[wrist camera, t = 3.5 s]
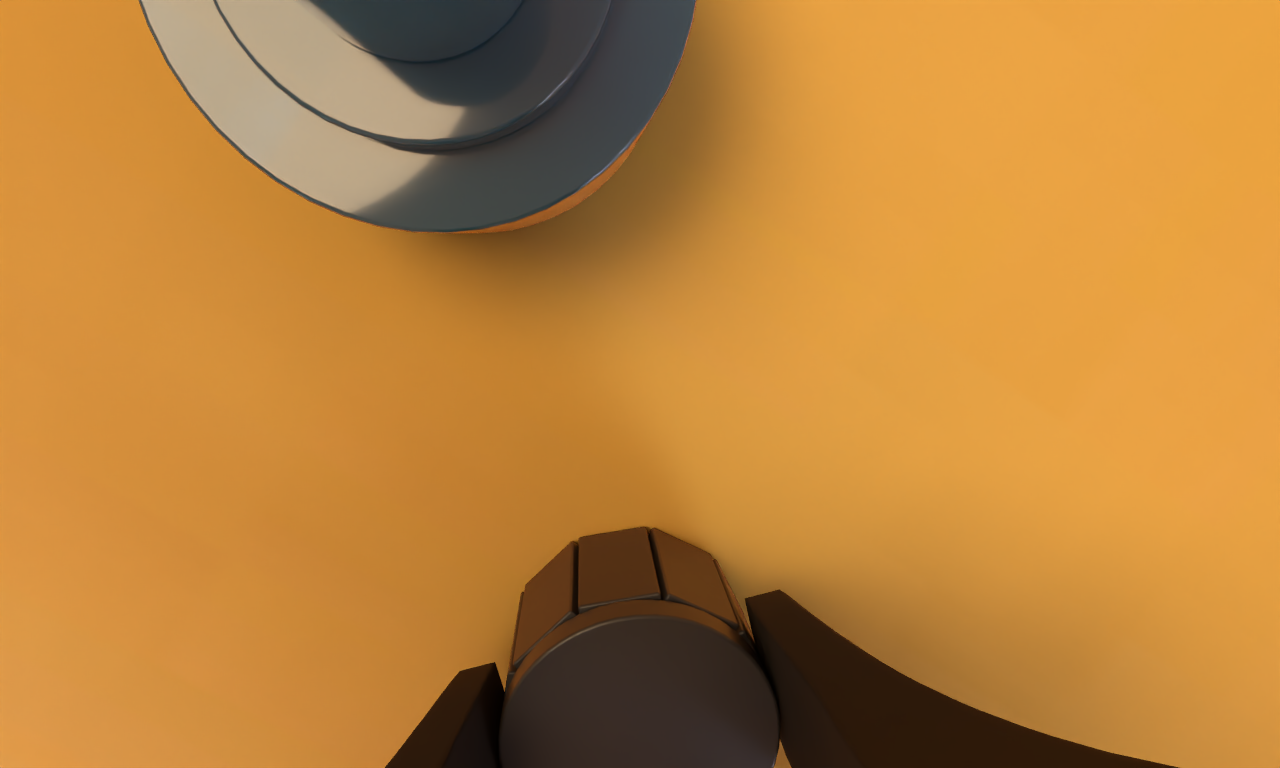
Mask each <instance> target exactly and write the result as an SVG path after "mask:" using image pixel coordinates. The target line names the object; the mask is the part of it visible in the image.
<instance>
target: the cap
mask: <svg viewBox="0 0 1280 768" xmlns="http://www.w3.org/2000/svg"><path fill="white" fill-rule="evenodd" d="M780 730H781V729H780V713H779V709H778V704H777V700H776V696H775V694H774V691H773V689H772V686H771V683H770V679H769V676H768V673H767V671H766V669H765V666H764V664H763V661H762V659H761V657H760V654H759V652H758V650H757V647H756V645H755V642H754V639H753V635H752V633H751V631H750V628H749V626H748V623H747V621H746V619H745V616H744V614H743V612H742V609H741V608H740V606H739V604H738V602H737V600H736V598H735V596H734V594H733V592H732V590H731V588H730V586H729V584H728V582H727V580H726V578H725V576H724V574H723V572H722V570H721V568H720V566H719V564H718V562H717V561H716V560H715V559H714V560H712V557H711V555H710V554H709V553H707V552H705V551H702V550H700V549H698V548H696V547H694V546H692V545H690V544H687V543H685V542H683V541H681V540H679V539H677V538H674V537H672V536H670V535H668V534H666V533H664V532H662V531H659V530H657V529H655V528H652V529H651V531H650V533H649V535H648V533H647V529H646V527H640V528H634V529H628V530H622V531H616V532H610V533H604V534H598V535H592V536H586V537H580V538H579V546H578V545H577V544H576V543H574V542H573V541H572V542H570V543H569V544H568V545H567V546H566V547H565V548H564V549H563V550H562V551H561V552H560V553H559V554H558V555H557V556H556V557H555V558H554V559H553V560H551V561H550V562H549V563H548V564H547V565H546V566H545V567H544V568H543V569H542V570H541V571H540V572H539V573H538V574H537V575H536V576H535V577H534V578H532V579H531V580H530V581H529V582H528V583H527V584H526V586H525V591H524V592H522V593H521V597H520V603H519V609H518V615H517V621H516V627H515V633H514V639H513V645H512V651H511V656H510V662H509V668H508V675H507V681H506V688H505V694H504V701H503V707H502V714H501V720H500V727H499V734H498V757H499V763H500V768H773V767H774V765H775V762H776V757H777V753H778V749H779V742H780Z"/></svg>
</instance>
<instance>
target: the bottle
mask: <svg viewBox="0 0 1280 768" xmlns="http://www.w3.org/2000/svg"><path fill="white" fill-rule="evenodd" d="M696 1H697V0H139V3H140V6H141V8H142V11H143V14H144V17H145V19H146V22H147V25H148V27H149V29H150V31H151V33H152V35H153V37H154V39H155V41H156V43H157V45H158V47H159V49H160V51H161V53H162V55H163V57H164V59H165V61H166V63H167V65H168V66H169V68H170V69H171V71H172V72H173V74H174V76H175V77H176V79H177V80H178V82H179V83H180V85H181V86H182V88H183V89H184V91H185V92H186V94H187V95H188V97H189V98H190V100H191V101H192V102H193V104H194V105H195V106H196V107H197V108H198V110H199V111H200V112H201V113H202V114H203V116H204V117H205V118H206V119H207V120H208V122H209V123H210V124H211V125H212V126H213V128H214V129H215V130H216V131H217V132H218V133H219V134H220V135H221V136H222V137H223V138H224V139H225V140H226V141H227V142H228V143H229V144H230V145H231V146H232V147H233V148H235V149H236V150H237V151H238V152H239V153H240V154H241V155H242V156H243V157H244V158H245V159H246V160H247V161H249V162H250V163H251V164H253V165H254V166H255V167H257V168H258V169H259V170H261V171H262V172H263V173H265V174H266V175H267V176H269V177H270V178H271V179H273V180H274V181H275V182H277V183H278V184H280V185H282V186H283V187H285V188H287V189H289V190H290V191H292V192H294V193H295V194H297V195H299V196H301V197H302V198H304V199H306V200H307V201H309V202H311V203H313V204H316V205H318V206H320V207H323V208H325V209H327V210H330V211H332V212H334V213H337V214H339V215H341V216H343V217H347V218H350V219H354V220H357V221H360V222H364V223H367V224H371V225H374V226H377V227H383V228H389V229H395V230H401V231H407V232H414V233H447V234H451V233H492V232H501V231H511V230H515V229H519V228H523V227H528V226H532V225H535V224H538V223H540V222H543V221H546V220H548V219H551V218H553V217H556V216H558V215H560V214H562V213H563V212H565V211H567V210H569V209H571V208H572V207H574V206H576V205H578V204H579V203H580V202H582V201H583V200H584V199H586V198H587V197H589V196H590V195H591V194H593V193H594V192H595V191H597V190H598V189H599V188H600V187H601V186H602V185H603V184H604V183H605V182H606V181H607V180H608V179H609V178H610V177H611V176H612V175H613V174H614V173H615V172H616V171H617V169H618V168H619V167H620V166H621V164H622V163H623V162H624V160H625V159H626V158H627V157H628V155H629V154H630V153H631V151H632V150H633V148H634V146H635V145H636V143H637V141H638V140H639V138H640V137H641V135H642V133H643V132H644V130H645V129H646V127H647V125H648V124H649V122H650V120H651V119H652V117H653V115H654V114H655V112H656V110H657V109H658V107H659V105H660V104H661V102H662V100H663V98H664V97H665V95H666V93H667V92H668V90H669V88H670V85H671V83H672V81H673V78H674V76H675V74H676V71H677V69H678V67H679V64H680V62H681V60H682V57H683V54H684V51H685V47H686V44H687V41H688V37H689V34H690V30H691V27H692V23H693V20H694V14H695V7H696Z"/></svg>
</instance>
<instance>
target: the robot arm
mask: <svg viewBox="0 0 1280 768" xmlns="http://www.w3.org/2000/svg"><path fill="white" fill-rule="evenodd" d="M745 602H746V606H747V611H748V616H749V620H750V625H751V629H752V634H753V639H754V642H755V645H756V647H757V650H758V652H759V654H760V657H761V659H762V661H763V664H764V666H765V669H766V671H767V673H768V676H769V679H770V683H771V686H772V689H773V691H774V694H775V696H776V700H777V704H778V709H779V713H780V729H781V730H780V740H781V742H782V745H783V748H784V751H785V754H786V756H787V759H788V761H789V763H790V765H791V767H792V768H1178V767H1174V766H1169V765H1164V764H1160V763H1155V762H1151V761H1146V760H1141V759H1137V758H1132V757H1128V756H1123V755H1118V754H1114V753H1110V752H1106V751H1102V750H1098V749H1095V748H1091V747H1088V746H1084V745H1081V744H1077V743H1074V742H1070V741H1067V740H1063V739H1060V738H1057V737H1053V736H1050V735H1047V734H1044V733H1041V732H1038V731H1035V730H1032V729H1029V728H1026V727H1023V726H1020V725H1017V724H1014V723H1012V722H1009V721H1007V720H1004V719H1001V718H999V717H996V716H993V715H991V714H988V713H985V712H983V711H980V710H978V709H975V708H973V707H970V706H968V705H966V704H963V703H961V702H959V701H956V700H954V699H952V698H950V697H948V696H946V695H943V694H941V693H939V692H937V691H935V690H933V689H931V688H929V687H927V686H925V685H922V684H920V683H918V682H916V681H914V680H913V679H911V678H909V677H907V676H905V675H903V674H901V673H899V672H898V671H896V670H894V669H893V668H891V667H889V666H888V665H886V664H884V663H882V662H881V661H879V660H878V659H876V658H874V657H873V656H871V655H870V654H868V653H866V652H865V651H863V650H862V649H860V648H859V647H857V646H856V645H854V644H853V643H851V642H850V641H849V640H847V639H846V638H844V637H843V636H841V635H840V634H838V633H837V632H835V631H834V630H833V629H831V628H830V627H828V626H827V625H826V624H824V623H823V622H822V621H820V620H819V619H818V618H816V617H815V616H814V615H812V614H811V613H810V612H808V611H807V610H806V609H805V608H803V607H802V606H801V605H800V604H798V603H797V602H796V601H795V600H793V599H792V598H791V597H790V596H788V595H787V594H786V593H784V592H782V591H781V590H776V591H772V592H768V593H764V594H760V595H756V596H752V597H748V598H745ZM504 694H505V692H504V689H503V685H502V682H501V679H500V676H499V673H498V670H497V667H496V663H495V662H494V663H490V664H486V665H482V666H478V667H474V668H470V669H466V670H462V671H460V672H459V673H458V674H457V675H456V676H455V677H454V679H453V680H452V681H451V682H450V684H449V685H448V686H447V688H446V689H445V690H444V692H443V693H442V694H441V696H440V697H439V698H438V699H437V701H436V702H435V703H434V705H433V706H432V707H431V709H430V710H429V711H428V713H427V714H426V715H425V717H424V718H423V719H422V721H421V722H420V723H419V725H418V726H417V727H416V729H415V730H414V731H413V732H412V734H411V735H410V736H409V738H408V739H407V740H406V741H405V743H404V744H403V745H402V747H401V748H400V749H399V750H398V752H397V753H396V754H395V756H394V757H393V758H392V759H391V761H390V762H389V763H388V764H387V765H386V767H385V768H500V763H499V757H498V734H499V727H500V720H501V714H502V707H503V701H504Z"/></svg>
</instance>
